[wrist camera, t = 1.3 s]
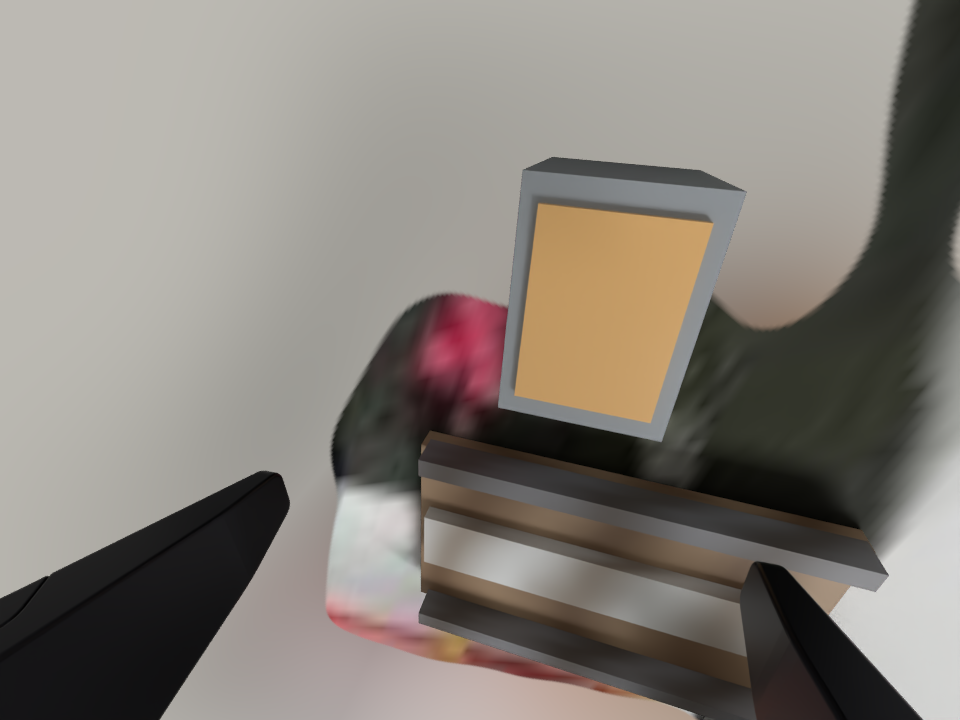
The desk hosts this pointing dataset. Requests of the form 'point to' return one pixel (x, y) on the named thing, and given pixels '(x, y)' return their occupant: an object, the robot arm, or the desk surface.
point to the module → (611, 289)
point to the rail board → (612, 570)
